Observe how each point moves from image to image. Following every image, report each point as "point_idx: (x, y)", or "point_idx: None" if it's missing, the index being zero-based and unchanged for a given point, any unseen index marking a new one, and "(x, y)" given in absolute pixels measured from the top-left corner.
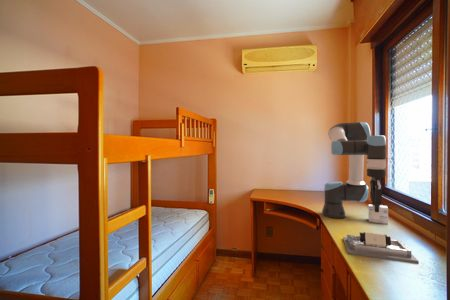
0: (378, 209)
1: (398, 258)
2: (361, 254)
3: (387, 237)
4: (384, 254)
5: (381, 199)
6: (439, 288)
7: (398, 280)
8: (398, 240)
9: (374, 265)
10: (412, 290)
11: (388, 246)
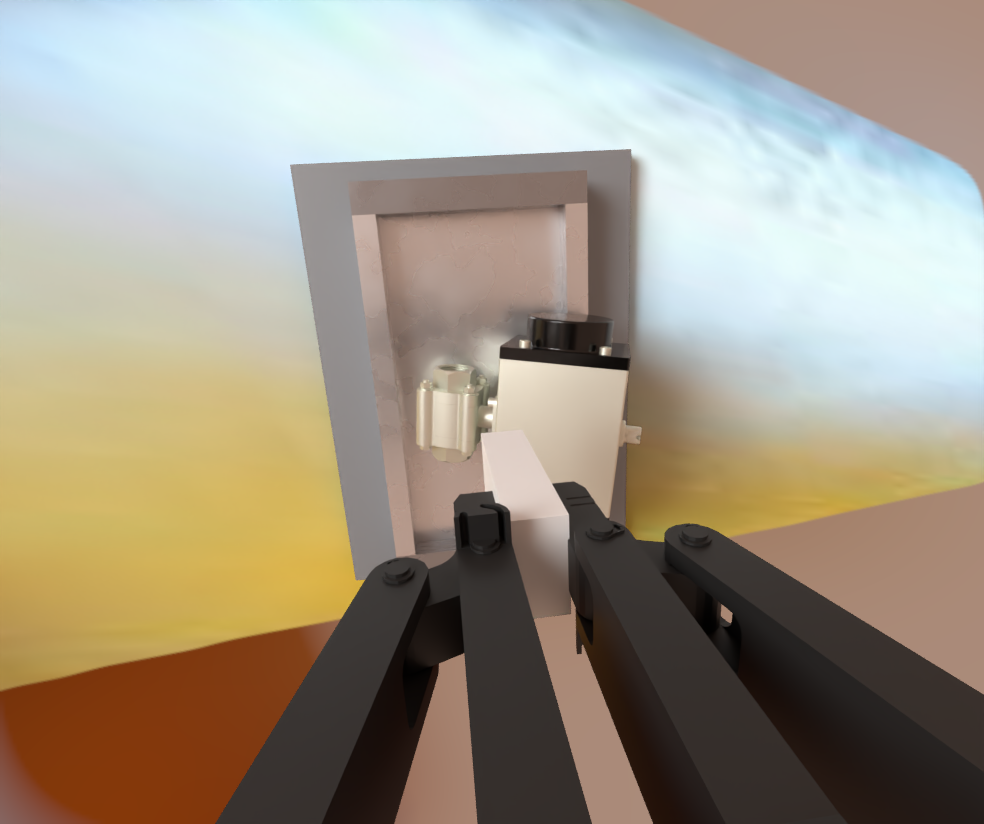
0: (593, 505)
1: (628, 275)
2: (622, 480)
3: (602, 344)
4: None
5: (812, 593)
6: (918, 154)
7: (874, 337)
8: (351, 203)
9: (733, 423)
10: (955, 297)
11: (466, 304)
